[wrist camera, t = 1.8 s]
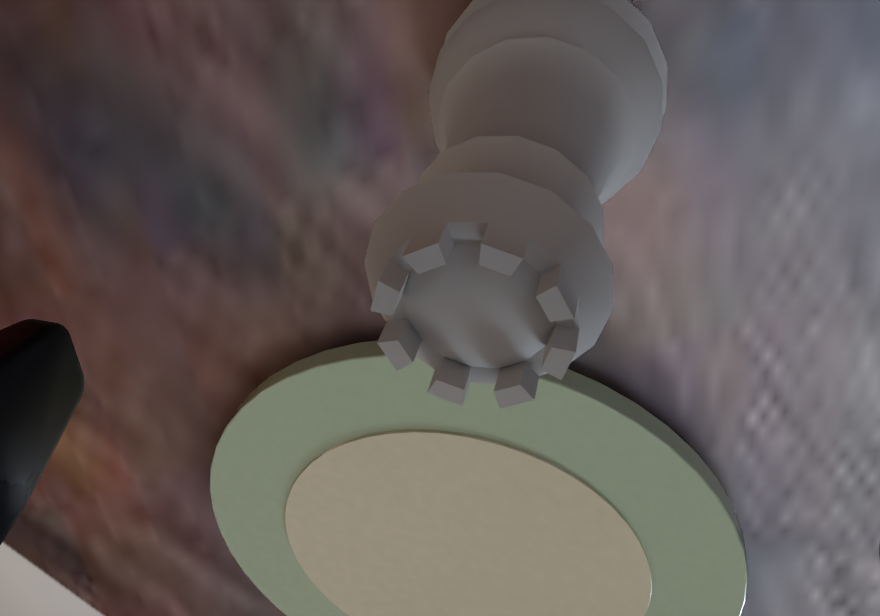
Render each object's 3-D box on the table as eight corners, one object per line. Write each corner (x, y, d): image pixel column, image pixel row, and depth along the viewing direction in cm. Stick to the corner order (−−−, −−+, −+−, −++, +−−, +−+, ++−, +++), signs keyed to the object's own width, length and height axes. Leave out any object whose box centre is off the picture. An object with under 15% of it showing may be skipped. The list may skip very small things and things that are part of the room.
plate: (489, 214, 18) (478, 245, 17) (857, 609, 23) (865, 652, 22) (136, 462, 27) (114, 492, 26) (457, 709, 32) (450, 742, 31)
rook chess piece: (686, 161, 16) (692, 451, 10) (477, 200, 18) (371, 470, 12) (645, -69, 14) (622, 121, 8) (410, -1, 15) (233, 201, 9)
